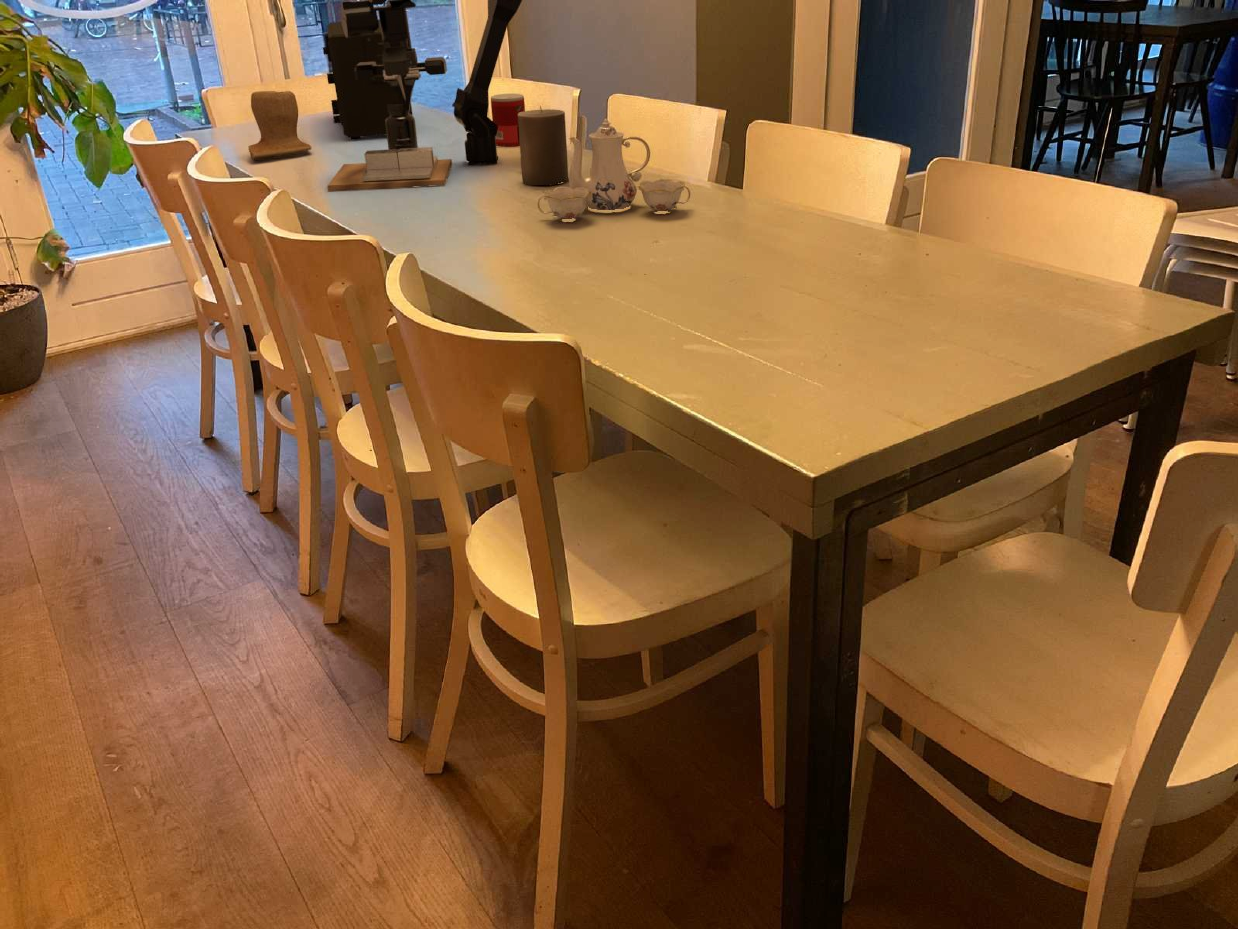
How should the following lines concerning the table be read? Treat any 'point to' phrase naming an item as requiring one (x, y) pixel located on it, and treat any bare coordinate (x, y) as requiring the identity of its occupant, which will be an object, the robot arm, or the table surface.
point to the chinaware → (609, 180)
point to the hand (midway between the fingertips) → (407, 110)
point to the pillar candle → (543, 147)
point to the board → (352, 180)
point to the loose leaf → (390, 167)
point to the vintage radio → (358, 83)
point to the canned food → (507, 117)
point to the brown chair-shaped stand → (276, 125)
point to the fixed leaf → (416, 158)
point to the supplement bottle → (400, 127)
